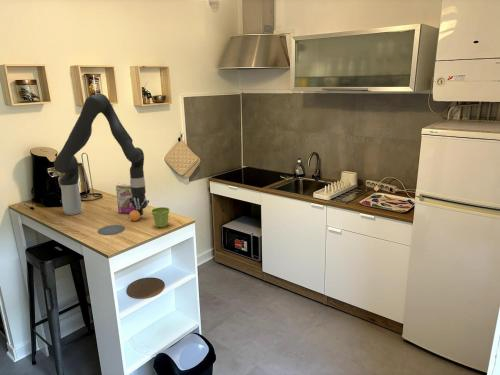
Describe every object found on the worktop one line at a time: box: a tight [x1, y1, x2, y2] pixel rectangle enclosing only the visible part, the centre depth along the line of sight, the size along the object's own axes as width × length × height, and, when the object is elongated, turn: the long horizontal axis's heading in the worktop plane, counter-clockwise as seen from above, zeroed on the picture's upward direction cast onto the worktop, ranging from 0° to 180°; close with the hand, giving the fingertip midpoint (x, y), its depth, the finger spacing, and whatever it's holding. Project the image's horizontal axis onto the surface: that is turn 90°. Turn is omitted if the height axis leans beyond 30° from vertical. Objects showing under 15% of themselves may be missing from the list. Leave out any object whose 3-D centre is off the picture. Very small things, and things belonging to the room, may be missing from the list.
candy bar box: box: [115, 183, 137, 214], centre depth 215 cm, size 11×5×16 cm, turn 84°
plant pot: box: [150, 206, 171, 228], centre depth 195 cm, size 9×9×9 cm
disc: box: [97, 224, 126, 236], centre depth 191 cm, size 13×13×1 cm
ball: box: [128, 210, 141, 222], centre depth 204 cm, size 6×6×6 cm
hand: (140, 215), depth 208 cm, fingers closed
